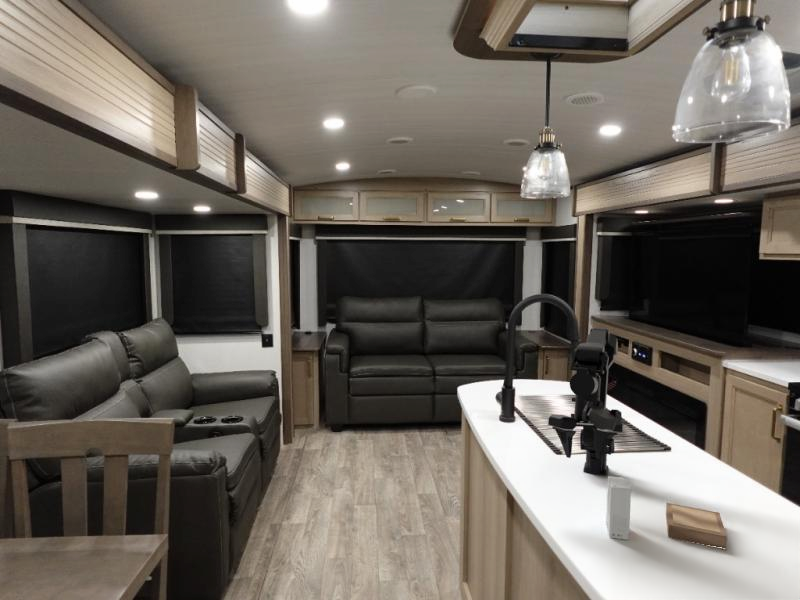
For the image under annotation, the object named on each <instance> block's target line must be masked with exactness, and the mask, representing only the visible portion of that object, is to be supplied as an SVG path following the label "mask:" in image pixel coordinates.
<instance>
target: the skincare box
mask: <svg viewBox="0 0 800 600" xmlns="http://www.w3.org/2000/svg"><path fill="white" fill-rule="evenodd" d="M606 490H607V491H606V494H607V495H606V517H605V519H606V520H605V525H606V530H607V533H608V536H609V538H610V539H611V538H612V539H618V540H619V539H620V540H625V541H629V540H630V524H631V523H630V522H631V502H632V501H631V500H632V499H631V498H632V497H631V496H632V488H631V485H630V483H629V481H628V479H627V477H620V476H619V477H618V476H612V475H607V489H606Z"/></svg>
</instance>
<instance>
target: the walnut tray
mask: <svg viewBox="0 0 800 600" xmlns="http://www.w3.org/2000/svg"><path fill="white" fill-rule="evenodd" d="M665 506H666V507H665V517H666V526H667V535H668V537H667V538H670V539H675V540H678V541H682V540H683V542H687V541H688V543H692V542H694V543H693V544H696V543H699V544H698V545H701V544H704V545H703V546H706V545H710V546H716V547H722V548H726V549H727V541H728V535H727V533H726V528H725V527H724V526H725V525H724V523H723V519H722V516H721V513H720V512H718V511H713V510H709V509H708V510H706V509H702V508H696V507H691V506H686V505H681V504H675V503H669V502H666V505H665ZM710 546H709V547H710Z"/></svg>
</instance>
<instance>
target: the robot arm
mask: <svg viewBox="0 0 800 600" xmlns="http://www.w3.org/2000/svg"><path fill="white" fill-rule="evenodd" d="M618 344H619V342H618V338H617V337H616V336H615V335H614V334H612V333H611V332H610V329H608V328H605V327H593V328H590V330H589V334H587V336H586V342H584V343H579V344H578V345H577V346H576V348H574V350H573V354H572V359H571V364H570V371H575V373H574V374H573V375H572V376H571V378H570V380H569V387H570V390H571V391H572V393H573V394H574V395H575V396H573V397H571V402H574V413H570V416H568V415H565V414H554V413H551V415H550V416H549V417H548V420H547V423H548V424H547V425H548V426H551V428H552V429H553V430H555V432H556V435H557V437H558V438H559V441H560V443H561V446H562V448H563V451H564V455H565V457H566V458H567V459H571V456H572V452H573V451H572V449H573V439H574V438H573V437H574V436H575V434H576V433H577V431H576V430H574V429H575V428H576V427H582V428H581V430H580V435H579V436H580V437H579V438H580V439H579V441H580V442H579V444H580V447H579V448H580V450H582V451H583V450H585V462H584V465H583V469H582V470H583V472H585V473H590V474H595V475H601V476H608V472H609V466H608V464H607V462H608V460H607V459H608V458H607V457H608V455H609V456H611V455H612V454H615V448H616V447H615V439H614V437H615V436H618V434H619V433H623V427H624V426H623V423H622V419H623V418H622V411H621V410H620V409H611V410H610V409H607V395H608V381H609V380H608V379H609V369H610V368H611V366H612V365H613V363H614V362H615V359H616V356H618V353H619V352H618V351H619V345H618Z"/></svg>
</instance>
